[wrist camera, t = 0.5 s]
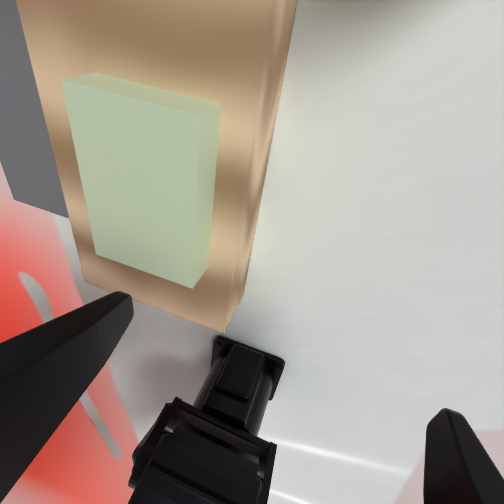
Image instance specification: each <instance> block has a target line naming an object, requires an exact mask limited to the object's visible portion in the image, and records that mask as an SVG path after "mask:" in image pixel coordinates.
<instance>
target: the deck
mask: <svg viewBox="0 0 504 504" xmlns="http://www.w3.org/2000/svg"><path fill="white" fill-rule="evenodd" d="M16 3H17V7H18V11H19V15H20V19H21V24H22V28H23V32H24V36H25V40H26V44H27V48H28V52H29V56H30V60H31V64H32V68H33V72H34V76H35V80H36V85H37V89H38V93H39V97H40V101H41V105H42V109H43V113H44V117H45V121H46V125H47V129H48V133H49V137H50V141H51V145H52V150H53V154H54V158H55V162H56V166H57V170H58V174H59V178H60V182H61V186H62V190H63V194H64V198H65V202H66V206H67V211H68V215H69V219H70V223H71V227H72V231H73V235H74V239H75V243H76V247H77V251H78V255H79V259H80V263H81V267H82V272H83V276H84V280H85V282H87V283H90V284H93V285H95V286H98V287H101V288H103V289H106V290H109V291H111V292H115V291H122V292H125V293H128V294H130V295H131V296H132V299H133V300H136V301H138V302H141V303H144V304H146V305H149V306H152V307H154V308H157V309H160V310H162V311H165V312H168V313H170V314H173V315H176V316H178V317H181V318H184V319H186V320H189V321H192V322H194V323H197V324H200V325H203V326H205V327H208V328H211V329H213V330H216V331H219V332H221V333H224V332H225V330H226V328H227V326H228V324H229V322H230V320H231V318H232V316H233V314H234V312H235V310H236V308H237V306H238V304H239V302H240V300H241V298H242V296H243V294H244V289H245V283H246V278H247V273H248V267H249V262H250V256H251V251H252V245H253V240H254V234H255V229H256V223H257V218H258V213H259V207H260V202H261V196H262V191H263V185H264V180H265V174H266V169H267V163H268V158H269V152H270V147H271V142H272V136H273V131H274V125H275V120H276V114H277V109H278V103H279V98H280V92H281V87H282V81H283V76H284V71H285V65H286V60H287V54H288V49H289V43H290V38H291V32H292V27H293V21H294V16H295V10H296V5H297V0H16ZM94 72H96V73H100V74H104V75H108V76H112V77H116V78H120V79H124V80H128V81H132V82H136V83H140V84H144V85H148V86H152V87H156V88H160V89H164V90H168V91H172V92H176V93H180V94H184V95H188V96H192V97H196V98H200V99H204V100H208V101H212V102H216V103H220V104H221V113H220V126H219V138H218V151H217V163H216V176H215V188H214V201H213V213H212V226H211V239H210V251H209V264H208V268H207V269H206V270H205V272H204V273H203V275H202V276H201V278H200V279H199V280H198V282H197V283H196V285H195V286H194V288H193V289H192V288H189V287H186V286H184V285H181V284H178V283H175V282H172V281H170V280H167V279H164V278H161V277H158V276H155V275H153V274H150V273H147V272H144V271H141V270H139V269H136V268H133V267H130V266H127V265H125V264H122V263H119V262H116V261H113V260H110V259H108V258H105V257H102V256H99V255H96V252H95V247H94V242H93V237H92V232H91V227H90V222H89V217H88V212H87V207H86V202H85V197H84V192H83V187H82V182H81V177H80V172H79V167H78V163H77V158H76V153H75V148H74V143H73V138H72V133H71V128H70V123H69V118H68V113H67V108H66V103H65V98H64V93H63V88H62V83H61V79H66V78H70V77H75V76H80V75H84V74H89V73H94Z"/></svg>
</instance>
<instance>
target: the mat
mask: <svg viewBox="0 0 504 504" xmlns="http://www.w3.org/2000/svg"><path fill="white" fill-rule="evenodd" d="M0 161H1V164H2V167H3V170H4V173H5V176H6V179H7V181H8V184H9V187H10V189H11V193H12V195H13V198H14V200H17V201H20V202H23V203H26V204H29V205H32V206H35V207H38V208H41V209H44V210H46V211H49V212H52V213H55V214H58V215H61V216H64V217H67V218H69V215H68V211H67V206H66V202H65V198H64V194H63V190H62V186H61V182H60V178H59V174H58V170H57V166H56V162H55V158H54V154H53V150H52V145H51V141H50V137H49V133H48V129H47V125H46V121H45V117H44V113H43V109H42V105H41V101H40V97H39V93H38V89H37V85H36V80H35V76H34V72H33V68H32V64H31V60H30V56H29V52H28V48H27V44H26V40H25V36H24V32H23V28H22V24H21V19H20V15H19V11H18V7H17V3H16V0H0Z"/></svg>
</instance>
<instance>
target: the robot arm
mask: <svg viewBox="0 0 504 504" xmlns="http://www.w3.org/2000/svg"><path fill="white" fill-rule="evenodd" d="M133 314H134V312H133V303H132V296H131V295H130V294H128V293H125V292H122V291H115V292H113V293H111V294H109V295H106V296H104V297H102V298H100V299H98V300H95V301H93V302H91V303H89V304H86V305H84V306H82V307H80V308H77V309H75V310H73V311H71V312H69V313H66V314H64V315H62V316H60V317H57V318H55V319H53V320H51V321H49V322H46V323H44V324H42V325H40V326H37V327H35V328H33V329H31V330H29V331H26V332H24V333H22V334H20V335H17V336H15V337H13V338H11V339H9V340H6V341H4V342H2V343H0V503H1V502H2V501H3V499H4V498H5V496H6V495H7V494H8V492H9V491H10V490H11V488H12V487H13V486H14V484H15V483H16V482H17V481H18V479H19V478H20V477H21V475H22V474H23V473H24V471H25V470H26V469H27V467H28V466H29V465H30V463H31V462H32V461H33V459H34V458H35V457H36V455H37V454H38V453H39V451H40V450H41V448H42V447H43V446H44V445H45V443H46V442H47V441H48V439H49V438H50V437H51V435H52V434H53V433H54V431H55V430H56V429H57V427H58V426H59V425H60V423H61V422H62V421H63V419H64V418H65V417H66V415H67V414H68V413H69V411H70V410H71V409H72V407H73V406H74V405H75V403H76V402H77V401H78V399H79V398H80V397H81V395H82V394H83V393H84V391H85V390H86V389H87V387H88V386H89V385H90V383H91V382H92V381H93V379H94V378H95V377H96V376H97V374H98V373H99V372H100V370H101V369H102V367H103V366H104V365H105V363H106V362H107V360H108V358H109V357H110V355H111V354H112V352H113V350H114V349H115V347H116V345H117V344H118V342H119V340H120V339H121V337H122V335H123V334H124V332H125V330H126V329H127V327H128V325H129V324H130V322H131V320H132V318H133ZM284 366H285V361H284V360H283V359H281V358H278V357H275V356H273V355H270V354H267V353H265V352H262V351H259V350H257V349H254V348H251V347H249V346H246V345H243V344H241V343H238V342H235V341H233V340H230V339H227V338H225V337H222V336H216V338H215V340H214V344H213V353H212V361H211V370H210V372H209V374H208V376H207V378H206V380H205V382H204V384H203V386H202V388H201V390H200V392H199V394H198V396H197V398H196V400H195V402H194V404H193V406H192V405H190V404H188V403H186V402H184V401H182V399H180V398H178V397H175V399H174V400H173V402H172V403H166V404H165V406H164V408H163V410H162V411H161V413H160V415H159V417H158V418H157V420H156V422H155V423H154V425H153V426H152V427H151V429H150V430H149V431H148V433H147V434H146V435H145V437H144V438H143V439H142V441H141V442H140V443H139V445H138V446H137V447H136V449H135V450H134V452H133V455H132V459H133V464H134V466H133V469H132V475H131V477H130V480H129V483H128V486H129V487H131V488H133V489H135V490H134V492H133V494H132V496H131V498H130V500H129V502H128V504H267V501H268V496H269V490H270V484H271V478H272V472H273V466H274V460H275V454H276V448H277V444H274V443H272V442H270V443H269V442H267V441H265V440H263V439H261V438H259V437H257V435H258V432H259V429H260V426H261V422H262V419H263V416H264V412H265V409H266V406H267V403H268V400H272V399H273V396H274V393H275V390H276V388H277V385H278V382H279V380H280V377H281V374H282V372H283V369H284ZM172 431H173V432H172ZM423 494H424V504H504V479H503V477H502V476H501V474H500V472H499V471H498V469H497V468H496V466H495V465H494V463H493V461H492V460H491V458H490V457H489V455H488V454H487V452H486V450H485V449H484V447H483V446H482V444H481V442H480V441H479V439H478V438H477V436H476V435H475V433H474V432H473V430H472V428H471V427H470V425H469V424H468V422H467V420H466V419H465V417H464V416H463V415H462V414H460V413H459V412H456V411H453V410H450V409H448V408H444V409H442V410H440V411H439V413H438V414H437V415H436V416H435V417H434V418H433V419H432V420H431V421H430V422H429V423H428V426H427V429H426V446H425V468H424V488H423Z"/></svg>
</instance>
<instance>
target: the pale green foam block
mask: <svg viewBox="0 0 504 504" xmlns="http://www.w3.org/2000/svg"><path fill="white" fill-rule="evenodd" d="M61 83H62V88H63V93H64V98H65V103H66V108H67V113H68V118H69V123H70V128H71V133H72V138H73V143H74V148H75V153H76V158H77V163H78V167H79V172H80V177H81V182H82V187H83V192H84V197H85V202H86V207H87V212H88V217H89V222H90V227H91V232H92V237H93V242H94V247H95V252H96V255H99V256H102V257H105V258H108V259H110V260H113V261H116V262H119V263H122V264H125V265H127V266H130V267H133V268H136V269H139V270H141V271H144V272H147V273H150V274H153V275H155V276H158V277H161V278H164V279H167V280H170V281H172V282H175V283H178V284H181V285H184V286H186V287H189V288H192V289H193V288H194V286H195V285H196V283H197V282H198V280H199V279H200V278H201V276H202V275H203V273H204V272H205V270H206V269H207V268H208V264H209V251H210V239H211V226H212V213H213V201H214V188H215V176H216V163H217V151H218V138H219V126H220V113H221V104H220V103H216V102H212V101H208V100H204V99H200V98H196V97H192V96H188V95H184V94H180V93H176V92H172V91H168V90H164V89H160V88H156V87H152V86H148V85H144V84H140V83H136V82H132V81H128V80H124V79H120V78H116V77H112V76H108V75H104V74H100V73H96V72H94V73H89V74H84V75H80V76H75V77H70V78H66V79H61Z"/></svg>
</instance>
